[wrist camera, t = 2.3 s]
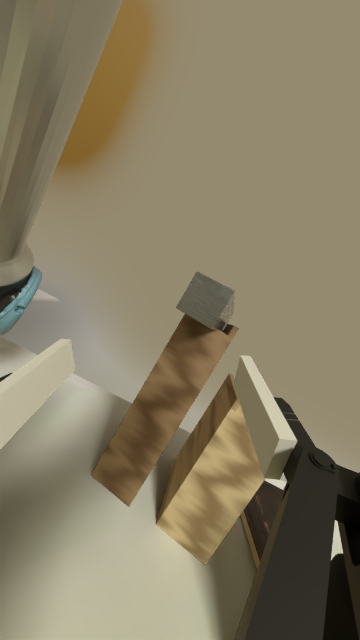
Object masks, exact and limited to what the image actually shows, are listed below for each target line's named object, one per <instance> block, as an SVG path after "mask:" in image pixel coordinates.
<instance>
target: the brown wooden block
mask: <svg viewBox="0 0 360 640" xmlns="http://www.w3.org/2000/svg"><path fill="white" fill-rule="evenodd" d="M238 330H239V328H237V327H235V326H233V325H229V324H227V325H226V327H225V328H224V330H214V329H210V328H209V327H207V326H205V325H204V324H202V323H200V322H199V321H197V320H195V319H194V318H192V317H190V316H189V315H187V314H185V315H184V316H183V318H182V320H181V321H180V323H179V325H178V327H177V329H176V330H175V332H174V333H173V335H172V337H171V339H170V341H169V342H168V344H167V345H166V347H165V349H164V351H163V352H162V354H161V356H160V358H159V359H158V361H157V363H156V364H155V366H154V368H153V369H152V371H151V373H150V375H149V376H148V378H147V380H146V381H145V383H144V385H143V387H142V388H141V390H140V392H139V393H138V395H137V397H136V399H135V400H134V402H133V404H132V405H131V407H130V409H129V411H128V412H127V414H126V416H125V417H124V419H123V421H122V423H121V424H120V426H119V428H118V429H117V431H116V433H115V435H114V436H113V438H112V440H111V441H110V443H109V445H108V446H107V448H106V450H105V452H104V453H103V455H102V457H101V458H100V460H99V462H98V464H97V465H96V467H95V469H94V470H93V472H92V474H91V476H92V477H94V478H95V479H96V480H97V481H98V482H100V483H101V484H102V485H103V486H104V487H106V488H107V489H108V490H109V491H110V492H112V493H113V494H114V495H115V496H116V497H118V498H119V499H120V500H121V501H123V502H124V503H125V504H126V505H127V506H130V504H131V502H132V501H133V499H134V498H135V496H136V494H137V493H138V491H139V489H140V488H141V486H142V485H143V483H144V481H145V480H146V478H147V477H148V475H149V473H150V472H151V470H152V469H153V467H154V465H155V464H156V462H157V460H158V459H159V457H160V456H161V454H162V452H163V451H164V449H165V448H166V446H167V444H168V443H169V441H170V439H171V438H172V436H173V435H174V433H175V431H176V430H177V428H178V427H179V425H180V423H181V422H182V420H183V418H184V417H185V415H186V413H187V412H188V410H189V409H190V407H191V405H192V404H193V402H194V401H195V399H196V397H197V396H198V394H199V393H200V391H201V389H202V388H203V386H204V385H205V383H206V381H207V380H208V378H209V376H210V375H211V373H212V372H213V370H214V368H215V367H216V365H217V363H218V362H219V360H220V359H221V357H222V355H223V354H224V352H225V351H226V349H227V347H228V346H229V344H230V343H231V341H232V339H233V338H234V336H235V335H236V333H237V331H238Z"/></svg>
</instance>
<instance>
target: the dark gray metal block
mask: <svg viewBox="0 0 360 640" xmlns="http://www.w3.org/2000/svg"><path fill="white" fill-rule="evenodd" d="M234 295H235V291H234V290H232V289H230V288H228V287H226V286H224V285H222V284H220V283H219V282H217V281H215V280H213V279H211V278H209V277H207V276H205V275H203V274H201V273H199V272H196V274H195V276H194V277H193V279H192V281H191V282H190V284H189V286H188V288H187V290H186V291H185V293H184V294H183V296H182V298H181V300H180V301H179V303H178V305H177V307H176V308H177V309H179V310H180V311H182V312H184V313H185V314H187V315H189V316H190V317H192V318H194V319H195V320H197V321H199V322H200V323H202V324H204V325H205V326H207V327H209V328H210V329H214V330H223V329H224V328H225V326H226V324H227V323H228V321H229V319H230V318H231V316H232V314H233V309H234Z"/></svg>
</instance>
